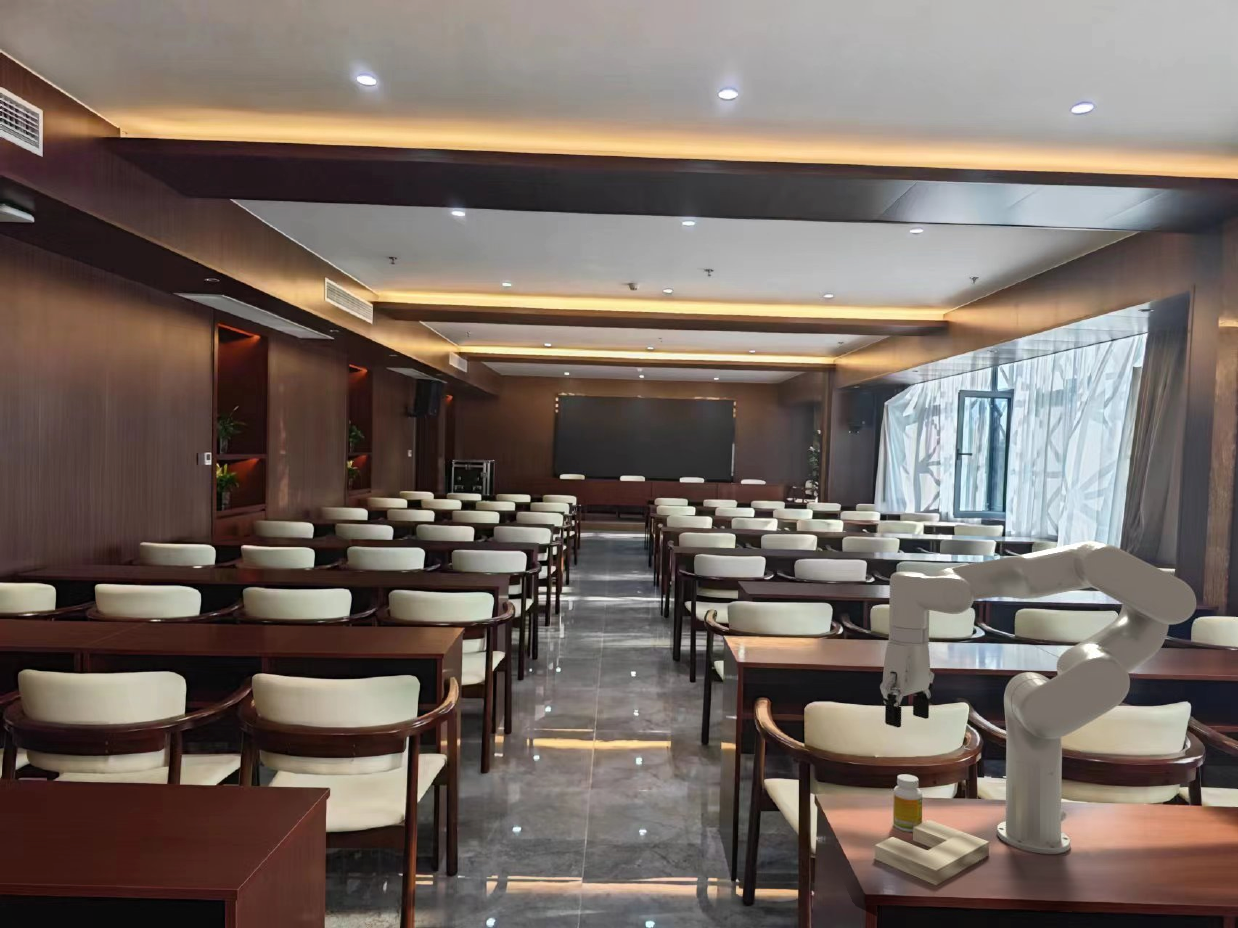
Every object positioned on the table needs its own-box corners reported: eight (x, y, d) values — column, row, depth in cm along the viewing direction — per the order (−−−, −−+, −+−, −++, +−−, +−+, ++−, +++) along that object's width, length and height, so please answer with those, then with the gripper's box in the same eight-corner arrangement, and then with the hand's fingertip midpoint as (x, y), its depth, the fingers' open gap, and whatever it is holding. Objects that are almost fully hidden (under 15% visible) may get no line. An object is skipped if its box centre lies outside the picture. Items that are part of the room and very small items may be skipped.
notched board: (928, 832, 161) (928, 819, 161) (988, 855, 152) (988, 841, 152) (874, 858, 150) (874, 844, 150) (935, 885, 140) (936, 870, 140)
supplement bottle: (924, 834, 160) (924, 783, 160) (895, 831, 161) (895, 781, 162) (919, 822, 166) (920, 773, 166) (891, 819, 167) (892, 771, 167)
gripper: (915, 627, 172) (914, 709, 172) (866, 636, 161) (865, 724, 161) (949, 633, 166) (948, 718, 166) (900, 643, 155) (899, 734, 155)
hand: (907, 721), depth 164 cm, fingers open, 9 cm apart
